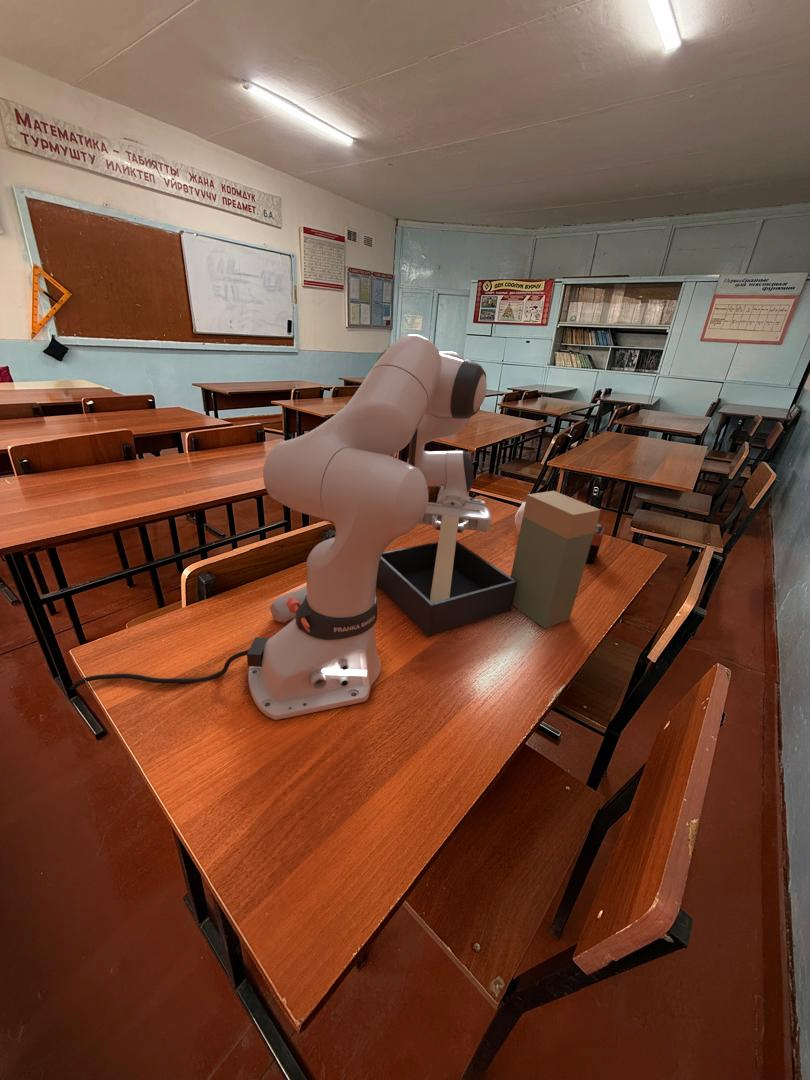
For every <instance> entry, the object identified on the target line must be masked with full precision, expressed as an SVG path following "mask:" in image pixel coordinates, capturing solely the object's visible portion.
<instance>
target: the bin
mask: <svg viewBox="0 0 810 1080" xmlns="http://www.w3.org/2000/svg"><path fill="white" fill-rule="evenodd" d="M437 548H438V541H434V542H429V543H423V544H418V545H413V546H408V547H403V548H397V549H393V550H387V551H384V552H383V554H382V556H381V558H380V561H379V566H378V573H377V581H376V586H378V587H379V588H380V590H381V591H382V592H383V593H385V595H386V596H387V597H388V598H389V599H390V600H391V601H392V603H394V604H395V605H396V607H398V608H399V609H400V610H401V612H402V613H404V615H405V616H407V618H408V619H409V620H410V621H411V622H412V623H413V624H414V625H415V626H416V627H417V628H418V629H419V630H420V631H421V632H422V633H423V634H424V635H425V637H426V638H430V637H433V636H436V635H439V634H443V633H446V632H449V631H452V630H455V629H458V628H462V627H464V626H467V625H470V624H471V625H472V624H474V623H476V622H480V621H482V620H485V619H489V618H492V617H495V616H498V615H502V614H505V613H508V612H511V611H512V610H513V600H514V596H515V591H516V586H517V581H516V580H514V579H513V578H511V575H508V574H507V573H506V572H504V571H502V570H501V569H499V568H497V567H496V566H495V565H494V564H492V563H490V562H489V561H487V560H486V559H484V558H483V557H481V556H480V555H479V554H477V553H475V552H474V551H472V550H471V549H469V548H468V547H466V546H465V545H464V544H462V543H460V542H459V541H458V540H456V547H455V555H454V564H453V572H452V581H451V589H450V598H448V599H445V600H441V601H437V602H434V603H432V602H431V601H430V596H431V589H432V582H433V575H434V568H435V561H436V555H437Z"/></svg>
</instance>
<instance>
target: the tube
mask: <svg viewBox="0 0 810 1080" xmlns="http://www.w3.org/2000/svg"><path fill="white" fill-rule="evenodd" d="M306 595H307V586H306V587H303V588H300V589H297V590H295V591H293V592H290V593H287V594H285V595H282V596H280V597H278V598H275V600H274V601H273V602H272V604H271V605H270V606H269V610H270V613H271V616H272V619H273V620H274V621H276V622H278V623H282V624H285V623H287V622H288V623H289V622H291V621H292V620H294V619H295V618H296V613H292V612H290V611H289V608H288V607H287V606H286V601H288V599H289V598H291V597H295V598H296V599H297V600H298V602H299V603H300V604H302V603H303V601H304V599H305V597H306Z"/></svg>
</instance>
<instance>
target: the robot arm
mask: <svg viewBox="0 0 810 1080" xmlns="http://www.w3.org/2000/svg"><path fill="white" fill-rule="evenodd" d="M487 387H488V385H487V373H486V371H485V370H484V368H483V367H482V365H481V364H479V363H477V362H475V361H473V360H471V359H468V358H467V359H465V358H464V357H463V356H462V355H461V354H459V353H457V352H455V351H451V350H443V351H439V349H438V347H437V346H436V345H435V344H434V343H433V342H432V341H431V340H430V339H429V338H427V337H425V336H423V335H420V334H406V335H404V336H401V337H399V338H398V339H397V340H396V341H394V342H393V343H392V344H391V345H390V346H389V347H388V348H386V349H385V350H383V351H382V352H381V354H379V356H378V357H377V359H376V361H375V363H374V364H373V365H372V367H371V369H370V370H369V372H368V374H367V375H366V377H365V378H364V380H363V381H362V383H361V384H360V386H359V387H358V389H357V390H356V391H355V393H354V394H353V396H352V397H351V398H350V399H349V400H348V402H347V403H346V404H345V405H344V406H343V407H342V408H341V409H340V410H339V411H338V412H336V413H335V414H334V415H333V416H331V417H330V418H329V419H327V420H326V421H324V422H323V423H321V424H320V425H318V426H316V427H315V428H314V429H312V430H310V431H307V432H306V433H304V434H302V435H299V436H297V437H294V438H291V439H287V440H283V441H281V442H279V443H277V444H275V445H274V447H272V448H271V450H270V451H269V453H268V454H267V456H266V459H265V461H264V464H263V468H262V469H263V470H262V481H263V485H264V488H265V490H266V492H267V494H268V495H269V496H270V497H271V498H272V499H273V500H275V501H277V502H278V503H280V504H282V505H283V506H285V507H287V508H289V509H291V510H293V511H295V512H297V513H300V514H303V515H308V516H310V517H315V518H318V519H321V520H325V521H329V522H331V523H333V524H334V527H335V535H334V537H330V538H328V539H325V540H323V541H321V542H319V543H317V544H316V545H315V546H313V548H312V550H311V551H310V552H309V554H308V556H307V559H306V562H305V565H306V587H307V595H306V597H305V599H304V601H303V603H302V604H300V603H299V602H298V600H297V599H296V598H295V597H291V598H289V599H288V601H286V606H287V607H288V608H289V611H290V612H292V613H296V618H294V619H292V620H290V621H289V622H288V623H286V625H285V626H284V627H282V628H281V629H280V630H279V631H277V632H276V633H275V634H273V635H272V636H270V637H269V638H268V637H258V636H257V637H254V639H253V641H252V643H251V645H250V647H249V649H246V650H242V651H240V652H237V653H234V654H232V655H231V656H230V657H228V659H227V660H226V661H225V663H224V666H223V668H222V669H221V670H220V671H218V672H216V673H213V674H211V675H208V676H203V677H193V678H192V677H190V678H186V677H185V678H179V677H178V678H177V677H176V678H175V677H174V678H171V677H170V678H160V677H151V676H146V675H141V674H135V673H107V674H106V673H104V674H95V675H90V676H86V677H83V678H81V679H79V680H77V681H76V682H74V683H73V684H72V685H71V686H70V687H69V689H68V690H69V691H74V690H76V689H77V688H78V687H80V686H81V685H83V684H86V683H89V682H92V681H93V682H94V681H102V680H116V679H118V680H119V679H129V680H130V679H131V680H137V681H143V682H147V683H153V684H195V683H200V682H205V681H210V680H215V679H218V678H219V677H222V676H224V675H225V674H226V673H227V672H228V670H229V667H230V665H231V663H232V662H233V661H235V660H237V659H239V658H242V657H244V656H246V660H247V667H249V669H248V674H247V684H248V689H249V692H250V695H251V698H252V700H253V702H254V704H255V705H256V707H257V709H258V710H259V711H260V712H261V713H262V714H264V715H265V716H266V717H268V718H269V719H272V720H274V721H278V720H283V719H288V718H293V717H298V716H303V715H308V714H312V713H317V712H323V711H327V710H332V709H336V708H341V707H342V708H343V707H347V706H351V705H356V704H360V703H361V704H362V703H365V702H366V701H367V700H368V699H369V697H370V694H371V688H372V685H373V684H374V683H375V682H376V680H377V679H378V677H379V676H380V673H381V669H382V662H381V658H380V656H379V653H378V647H377V641H376V640H377V639H376V624H377V620H378V596H377V594H376V591H377V584H376V581H377V573H378V566H379V561H380V558H381V556H382V554H383V552H385V551H386V549H387V548H388V546H389V545H390V544H391V543H393V541H395V540H396V539H399V538H400V537H403V536H404V535H406V534H408V533H409V532H411V531H412V530H413V529H415V528H416V527H417V526H418V525H419V524H420V525H428V526H432V527H434V530H435V531H440V527H441V520H442V515H446V516H454V517H459V521H458V530H457V534H458V533H459V534H464V532H465V531H476V532H483V533H487V532H490V530H491V525H492V514H491V511H490V509H489V508H488V507H487V503H486V501H485V500H482V499H478V498H475V497H471V496H470V495H469V492H470V491H471V489H472V488H473V487H474V463H473V458H472V457H471V455H469V453H467V451H465V450H436V451H435V450H433V451H429V450H425V446H426V444H428V443H430V442H432V441H435V440H439V439H443V438H444V439H445V438H447V437H452V436H454V435H456V434H458V433H460V432H461V431H462V430H463V429H464V428H465V427H466V426H467V425H468V423H469V422H470V420H471V418H472V417H473V416H475V415H476V414H477V413H478V411H479V410H480V408H481V406H482V405H483V404H484V401H485V398H486V394H487ZM408 444H409V445H408ZM407 446H408V457H407V461H403V460H401V459H399V458H396V457H394V456H392V455H394V454H397V453H399V452H400V451H402V450H403V449H405V448H406V447H407ZM429 487H440V489H439V491H438V493H437V499H436V502H431V501H430V502H429V497H430V496H429ZM84 679H85V680H86V681H87V682H85V680H84Z"/></svg>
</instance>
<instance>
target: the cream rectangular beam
mask: <svg viewBox="0 0 810 1080" xmlns="http://www.w3.org/2000/svg"><path fill="white" fill-rule="evenodd" d="M458 521H459V517H454V516H446V515H442V520H441V527H440V530H439V535H438V541H437V542H438V548H437V555H436V561H435V568H434V575H433V582H432V589H431V596H430V601H431V602H432V603H434V602H437V601H441V600H445V599H448V598H450V589H451V581H452V572H453V564H454V555H455V547H456V541H457V536H458V532H457V530H458Z"/></svg>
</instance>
